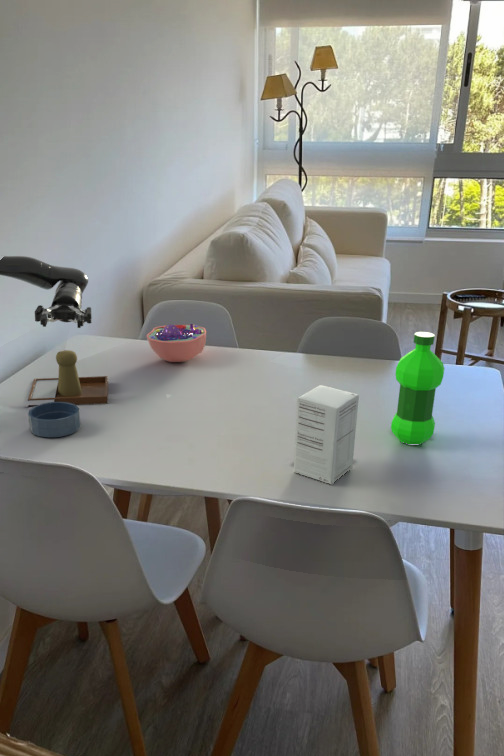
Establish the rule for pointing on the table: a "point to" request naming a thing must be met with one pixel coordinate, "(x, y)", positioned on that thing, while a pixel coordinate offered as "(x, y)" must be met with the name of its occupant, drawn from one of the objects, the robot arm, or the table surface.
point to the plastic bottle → (417, 391)
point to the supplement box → (325, 433)
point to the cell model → (177, 341)
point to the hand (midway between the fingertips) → (61, 323)
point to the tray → (91, 391)
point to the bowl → (54, 419)
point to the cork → (68, 374)
